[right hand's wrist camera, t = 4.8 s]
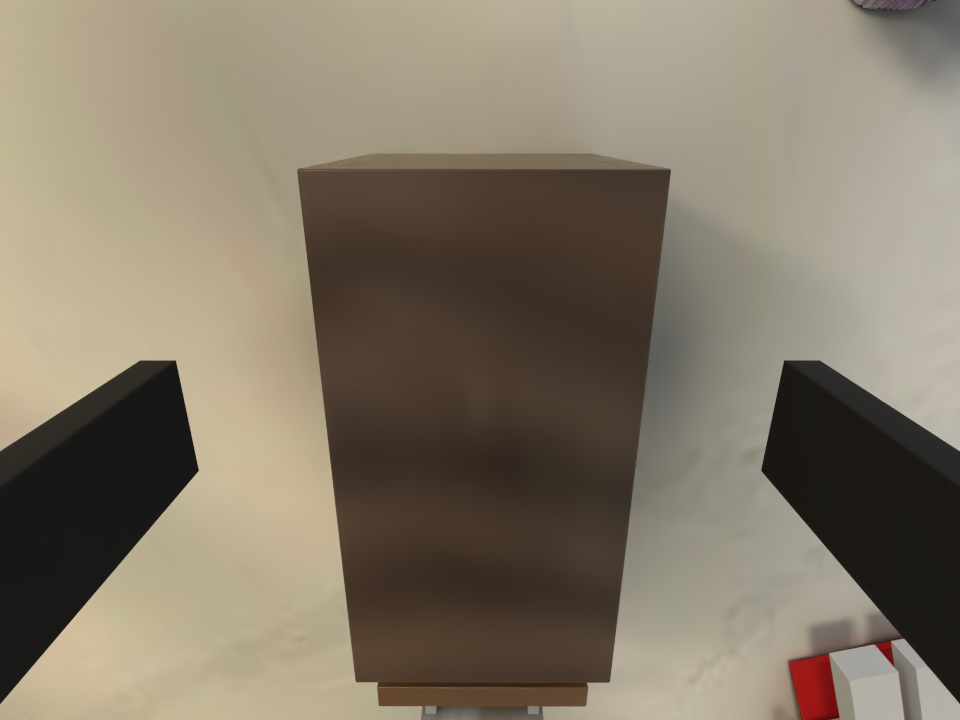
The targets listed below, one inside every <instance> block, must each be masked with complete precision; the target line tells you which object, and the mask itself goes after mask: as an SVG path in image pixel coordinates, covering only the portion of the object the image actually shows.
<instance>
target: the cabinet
mask: <svg viewBox="0 0 960 720" xmlns="http://www.w3.org/2000/svg"><path fill="white" fill-rule="evenodd" d="M297 172H298V181H299V190H300V198H301V207H302V216H303V225H304V233H305V242H306V251H307V260H308V268H309V277H310V286H311V295H312V303H313V312H314V321H315V330H316V338H317V347H318V356H319V365H320V373H321V382H322V391H323V400H324V408H325V417H326V426H327V435H328V443H329V452H330V461H331V470H332V478H333V487H334V496H335V505H336V513H337V522H338V531H339V540H340V548H341V557H342V566H343V575H344V583H345V592H346V601H347V610H348V618H349V627H350V636H351V645H352V653H353V662H354V671H355V680H356V682H563V683H609V682H610V676H611V667H612V659H613V651H614V642H615V634H616V626H617V617H618V609H619V600H620V592H621V584H622V575H623V567H624V559H625V550H626V542H627V533H628V525H629V517H630V508H631V500H632V492H633V483H634V475H635V466H636V458H637V450H638V441H639V433H640V425H641V416H642V408H643V399H644V391H645V383H646V374H647V366H648V358H649V349H650V341H651V332H652V324H653V316H654V307H655V299H656V291H657V282H658V274H659V265H660V257H661V249H662V240H663V232H664V224H665V215H666V207H667V198H668V190H669V182H670V173H671V170H670V169H668V168H662V167H656V166H651V165H646V164H641V163H636V162H630V161H625V160H620V159H615V158H610V157H605V156H600V155H595V154H370V155H365V156H360V157H355V158H350V159H345V160H340V161H335V162H330V163H325V164H320V165H315V166H310V167H305V168H300V169H298V171H297Z"/></svg>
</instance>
